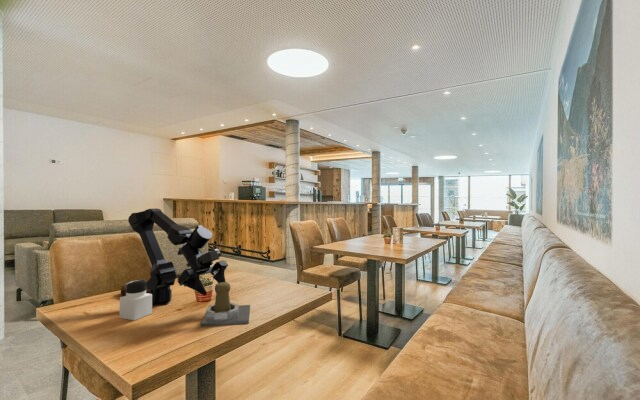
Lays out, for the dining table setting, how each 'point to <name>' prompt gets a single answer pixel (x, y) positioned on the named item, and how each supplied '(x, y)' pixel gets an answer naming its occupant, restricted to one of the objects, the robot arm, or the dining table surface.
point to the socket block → (227, 315)
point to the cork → (222, 297)
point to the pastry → (123, 289)
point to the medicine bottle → (135, 301)
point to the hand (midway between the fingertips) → (216, 291)
